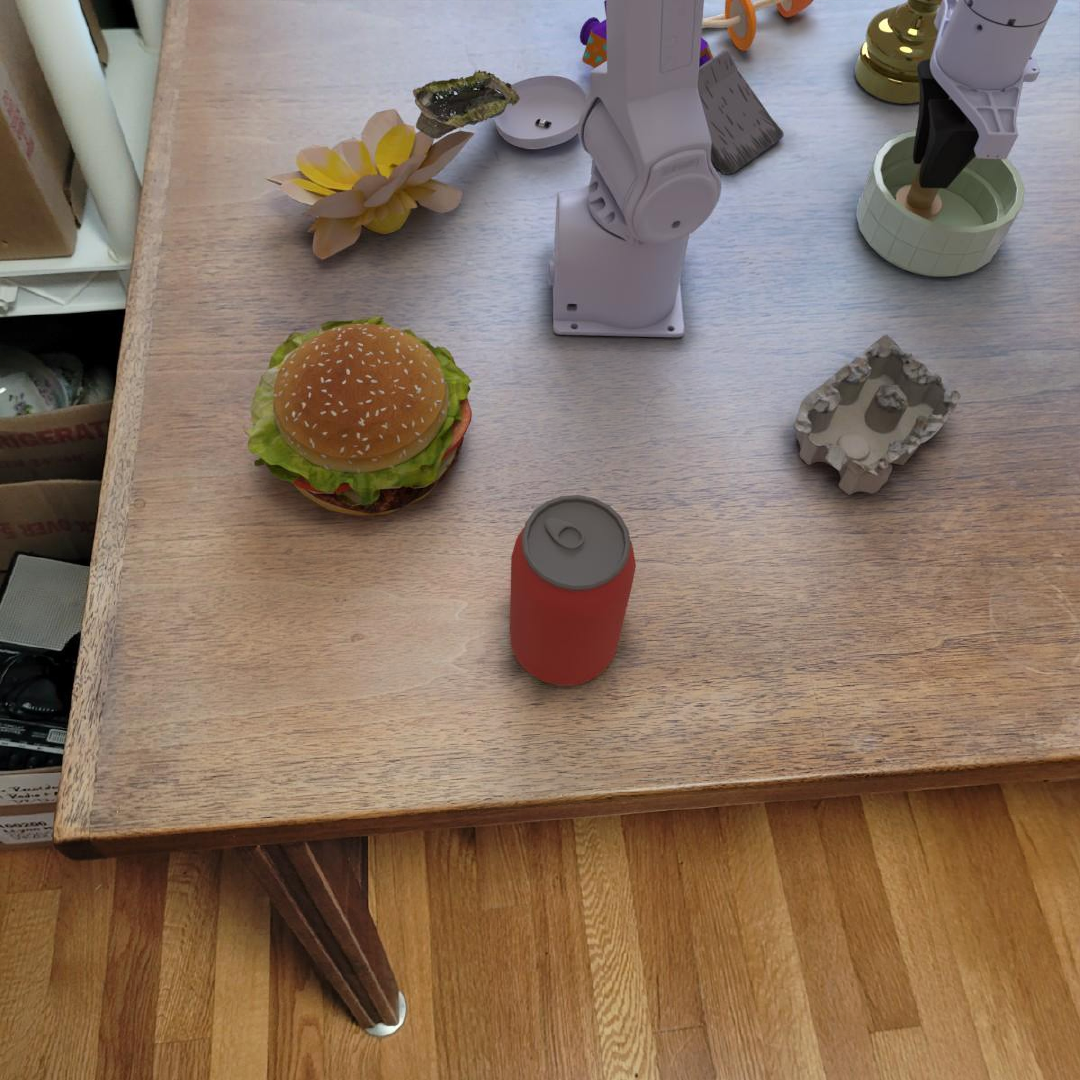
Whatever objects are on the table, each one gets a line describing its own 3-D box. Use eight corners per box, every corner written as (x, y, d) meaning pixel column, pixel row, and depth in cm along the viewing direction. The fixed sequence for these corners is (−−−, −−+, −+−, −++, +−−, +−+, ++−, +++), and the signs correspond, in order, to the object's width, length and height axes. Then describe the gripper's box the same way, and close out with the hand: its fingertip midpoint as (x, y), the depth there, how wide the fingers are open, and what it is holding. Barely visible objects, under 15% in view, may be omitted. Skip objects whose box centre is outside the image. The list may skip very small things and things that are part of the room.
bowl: (866, 279, 79) (887, 230, 75) (844, 178, 85) (863, 126, 81) (1011, 283, 80) (1040, 234, 75) (980, 182, 85) (1005, 131, 81)
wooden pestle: (896, 224, 80) (953, 94, 70) (888, 191, 81) (942, 60, 72) (943, 225, 80) (1006, 95, 70) (934, 192, 82) (994, 61, 72)
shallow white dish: (526, 85, 90) (523, 66, 88) (607, 109, 87) (606, 89, 85) (476, 143, 86) (472, 124, 85) (559, 169, 84) (557, 149, 82)
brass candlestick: (838, 60, 93) (873, -52, 84) (913, 47, 94) (955, -65, 85) (876, 112, 89) (916, 2, 81) (952, 98, 91) (1000, -13, 82)
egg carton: (859, 511, 69) (878, 477, 65) (773, 441, 71) (788, 404, 68) (956, 425, 73) (979, 389, 69) (871, 361, 75) (889, 323, 72)
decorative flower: (430, 108, 84) (429, 15, 75) (496, 219, 82) (502, 137, 72) (258, 176, 81) (233, 88, 72) (321, 293, 79) (304, 217, 69)
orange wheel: (683, 20, 87) (857, -15, 87) (658, -50, 89) (827, -83, 90) (675, 86, 93) (836, 53, 94) (652, 20, 96) (809, -11, 97)
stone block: (547, 103, 83) (497, 112, 86) (534, 46, 81) (484, 57, 84) (449, 150, 74) (397, 159, 77) (432, 87, 72) (379, 98, 75)
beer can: (555, 571, 66) (566, 464, 55) (639, 633, 64) (666, 533, 53) (487, 644, 63) (484, 545, 53) (572, 711, 61) (587, 622, 51)
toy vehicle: (722, 181, 84) (741, 5, 71) (547, 70, 93) (536, -104, 80) (793, 130, 87) (824, -49, 74) (617, 27, 96) (616, -150, 83)
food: (331, 336, 75) (314, 253, 68) (503, 412, 72) (504, 334, 65) (215, 476, 68) (183, 400, 61) (399, 566, 65) (387, 497, 59)
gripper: (1100, 74, 62) (1004, 244, 74) (1041, -64, 70) (962, 110, 81) (984, 71, 62) (906, 242, 74) (937, -68, 70) (873, 108, 81)
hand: (929, 173), depth 78 cm, fingers closed on wooden pestle, 2 cm apart
